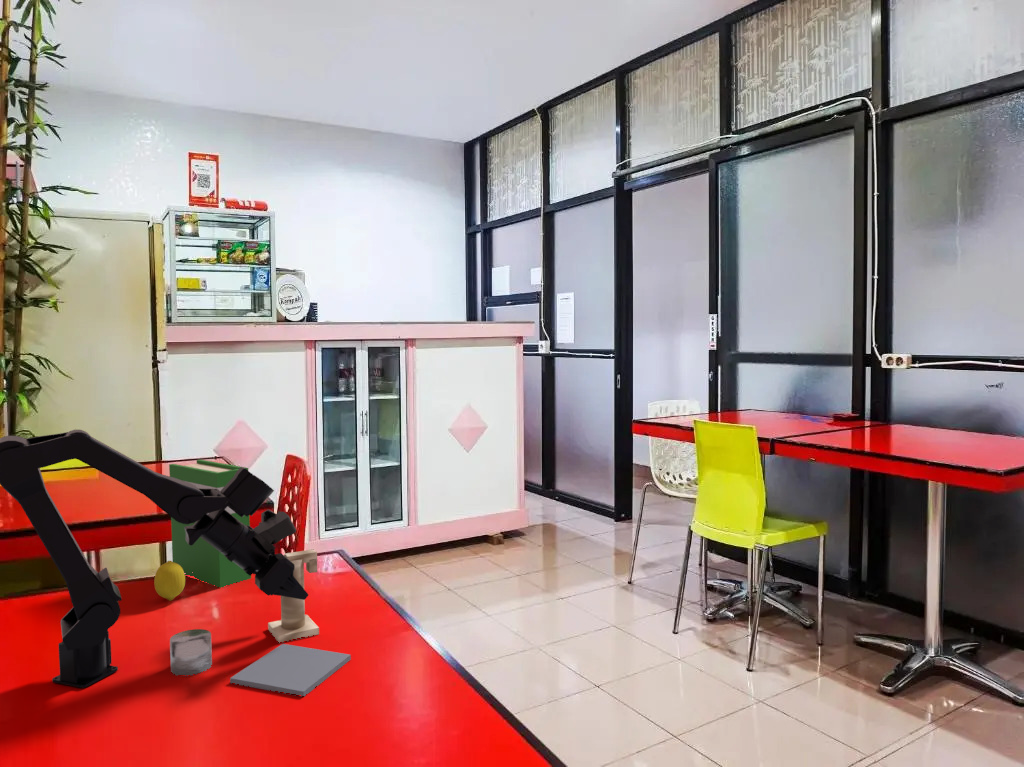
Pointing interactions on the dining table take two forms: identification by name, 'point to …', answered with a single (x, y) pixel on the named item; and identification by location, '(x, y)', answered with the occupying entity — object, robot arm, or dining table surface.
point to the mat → (291, 669)
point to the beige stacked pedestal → (296, 603)
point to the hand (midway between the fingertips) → (298, 589)
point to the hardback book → (201, 554)
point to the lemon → (169, 580)
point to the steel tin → (190, 652)
